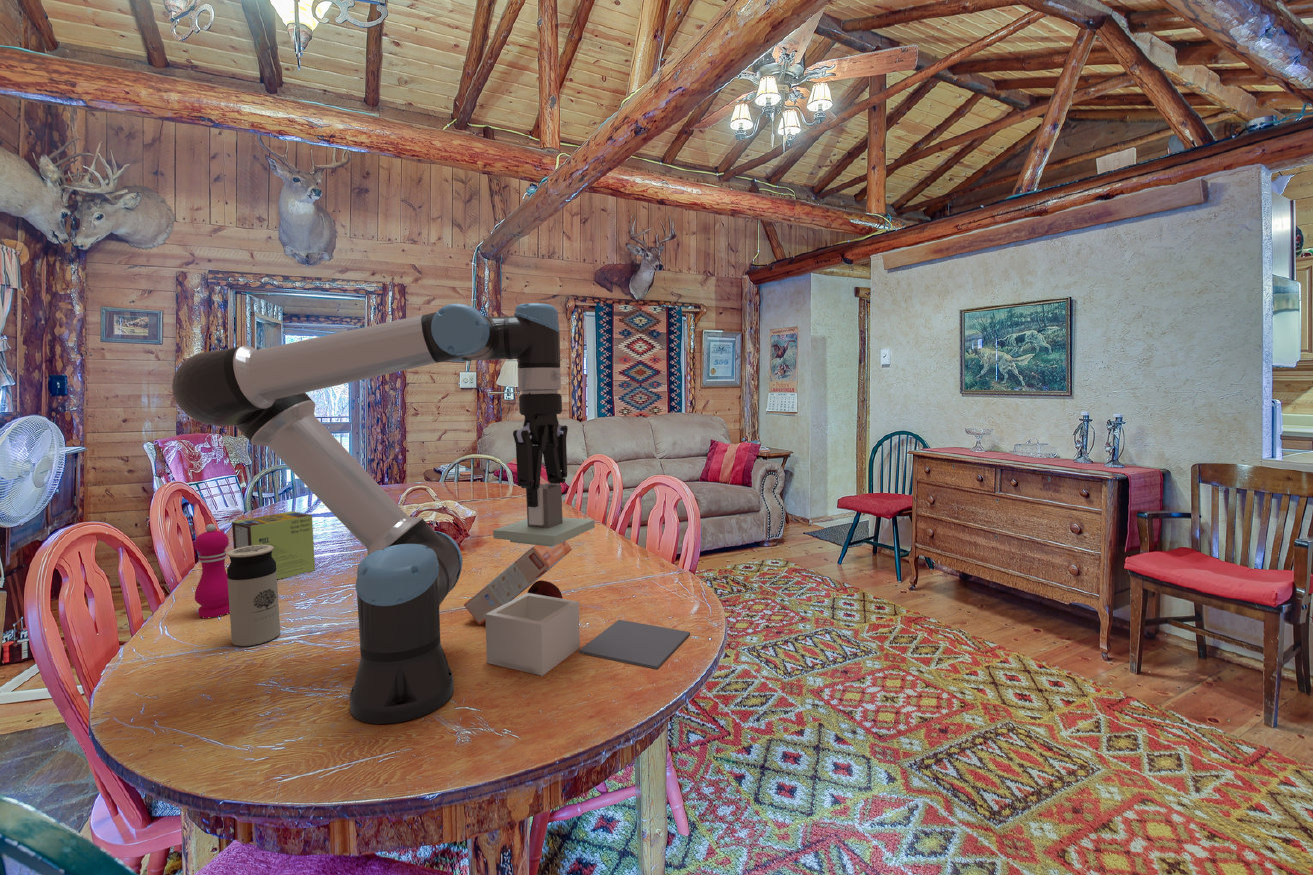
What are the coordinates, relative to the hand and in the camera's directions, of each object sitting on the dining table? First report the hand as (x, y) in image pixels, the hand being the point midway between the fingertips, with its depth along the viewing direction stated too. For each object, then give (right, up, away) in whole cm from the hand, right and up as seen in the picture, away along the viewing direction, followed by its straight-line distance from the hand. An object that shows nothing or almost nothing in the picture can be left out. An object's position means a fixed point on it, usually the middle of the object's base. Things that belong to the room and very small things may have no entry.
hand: (545, 520), depth 108 cm
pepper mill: (-77, -24, +23) cm, 84 cm away
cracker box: (-17, -22, +22) cm, 35 cm away
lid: (0, -3, 0) cm, 3 cm away
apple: (-4, -24, +20) cm, 31 cm away
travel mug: (-59, -25, +10) cm, 65 cm away
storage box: (-2, -25, +2) cm, 25 cm away
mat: (+16, -24, +6) cm, 30 cm away
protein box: (-81, -22, +50) cm, 98 cm away
